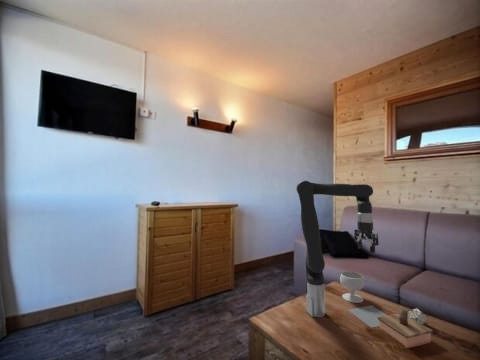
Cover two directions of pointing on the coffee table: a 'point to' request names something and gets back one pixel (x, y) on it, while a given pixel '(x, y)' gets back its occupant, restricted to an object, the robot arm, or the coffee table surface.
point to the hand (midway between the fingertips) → (366, 250)
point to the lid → (404, 324)
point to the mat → (368, 315)
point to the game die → (417, 316)
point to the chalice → (352, 285)
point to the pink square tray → (405, 342)
